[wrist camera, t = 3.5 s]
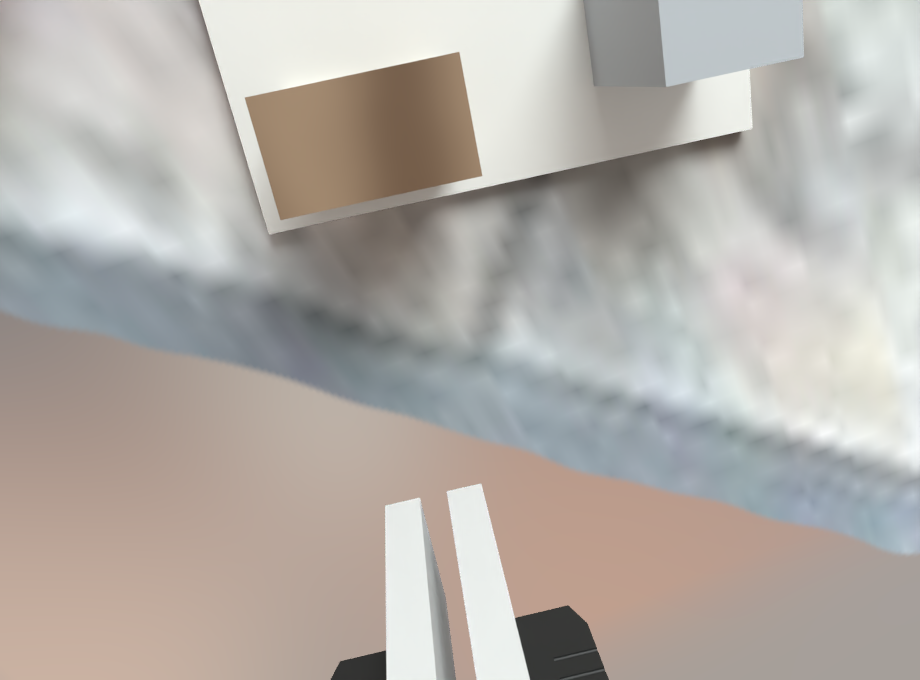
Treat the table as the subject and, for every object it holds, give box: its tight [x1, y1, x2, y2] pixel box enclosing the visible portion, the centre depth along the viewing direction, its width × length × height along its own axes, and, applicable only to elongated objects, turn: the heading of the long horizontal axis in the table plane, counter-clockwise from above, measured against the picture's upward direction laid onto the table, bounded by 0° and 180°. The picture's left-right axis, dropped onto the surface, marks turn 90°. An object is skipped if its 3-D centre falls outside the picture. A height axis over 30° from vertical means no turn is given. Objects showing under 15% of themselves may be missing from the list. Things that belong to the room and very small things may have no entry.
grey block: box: [583, 0, 804, 87], centre depth 28 cm, size 5×5×9 cm
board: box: [199, 0, 752, 235], centre depth 32 cm, size 24×16×1 cm, turn 101°
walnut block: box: [245, 52, 482, 220], centre depth 28 cm, size 7×4×10 cm, turn 101°
